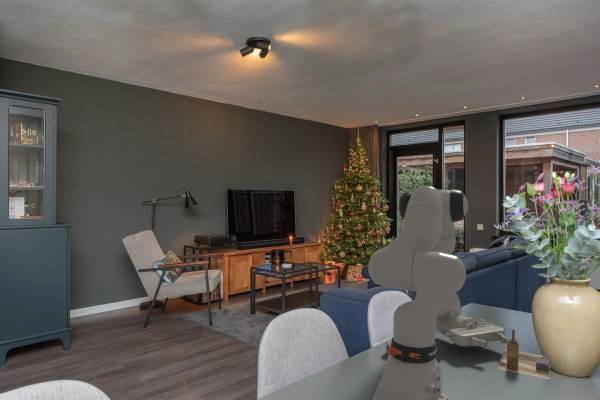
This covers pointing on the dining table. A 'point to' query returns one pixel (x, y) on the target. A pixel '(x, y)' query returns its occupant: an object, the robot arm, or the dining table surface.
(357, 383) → the dining table surface
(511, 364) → the awl
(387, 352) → the usb wall charger
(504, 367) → the subfloor panel
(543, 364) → the block
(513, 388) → the dining table surface
